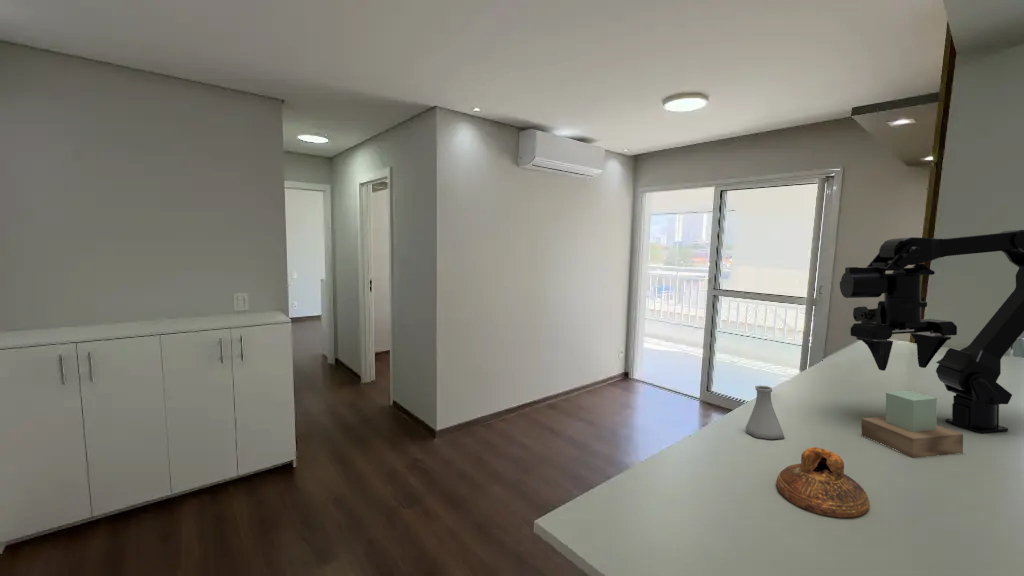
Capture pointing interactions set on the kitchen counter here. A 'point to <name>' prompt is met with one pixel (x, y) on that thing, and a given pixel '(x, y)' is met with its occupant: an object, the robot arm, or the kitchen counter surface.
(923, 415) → the sage cube
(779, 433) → the flask
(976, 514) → the kitchen counter surface
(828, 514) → the brown clay lid
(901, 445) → the walnut block
